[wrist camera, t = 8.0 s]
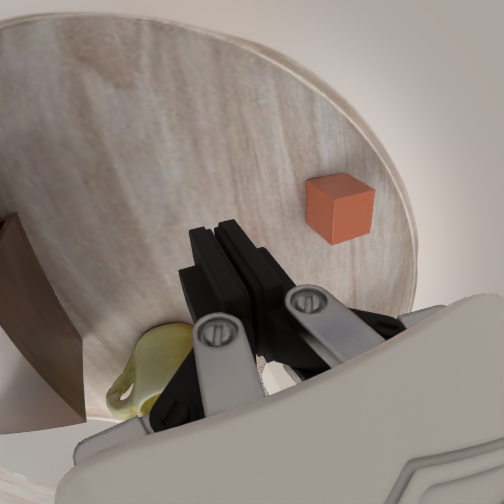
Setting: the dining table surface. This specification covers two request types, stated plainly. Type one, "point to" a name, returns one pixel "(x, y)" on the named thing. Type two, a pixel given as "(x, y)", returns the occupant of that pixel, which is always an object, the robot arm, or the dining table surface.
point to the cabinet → (35, 343)
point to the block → (339, 207)
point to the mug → (150, 369)
